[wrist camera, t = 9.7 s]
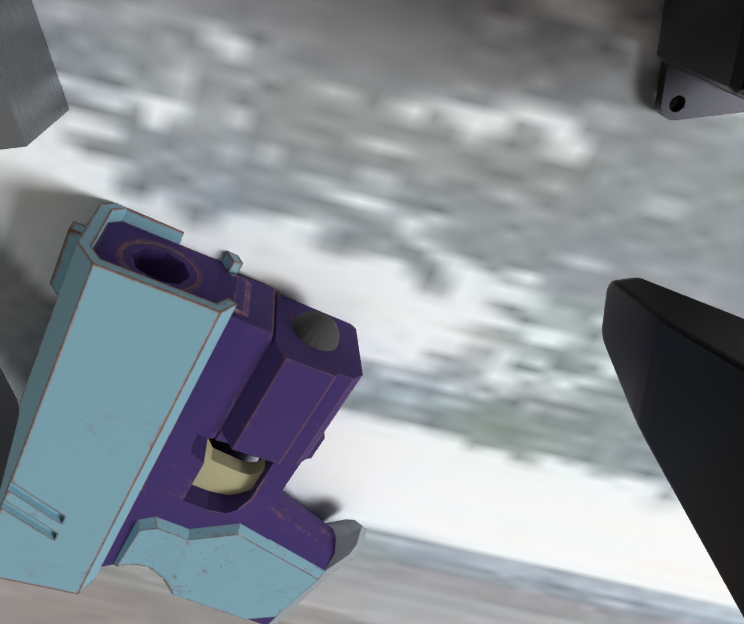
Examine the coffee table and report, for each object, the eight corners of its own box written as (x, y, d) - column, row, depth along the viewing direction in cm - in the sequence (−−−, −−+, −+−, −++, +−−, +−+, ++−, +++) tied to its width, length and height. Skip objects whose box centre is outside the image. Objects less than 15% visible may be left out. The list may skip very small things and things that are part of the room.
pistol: (302, 571, 32) (-16, 493, 27) (472, 348, 26) (92, 188, 20) (303, 651, 29) (-60, 580, 24) (500, 418, 22) (52, 247, 17)
